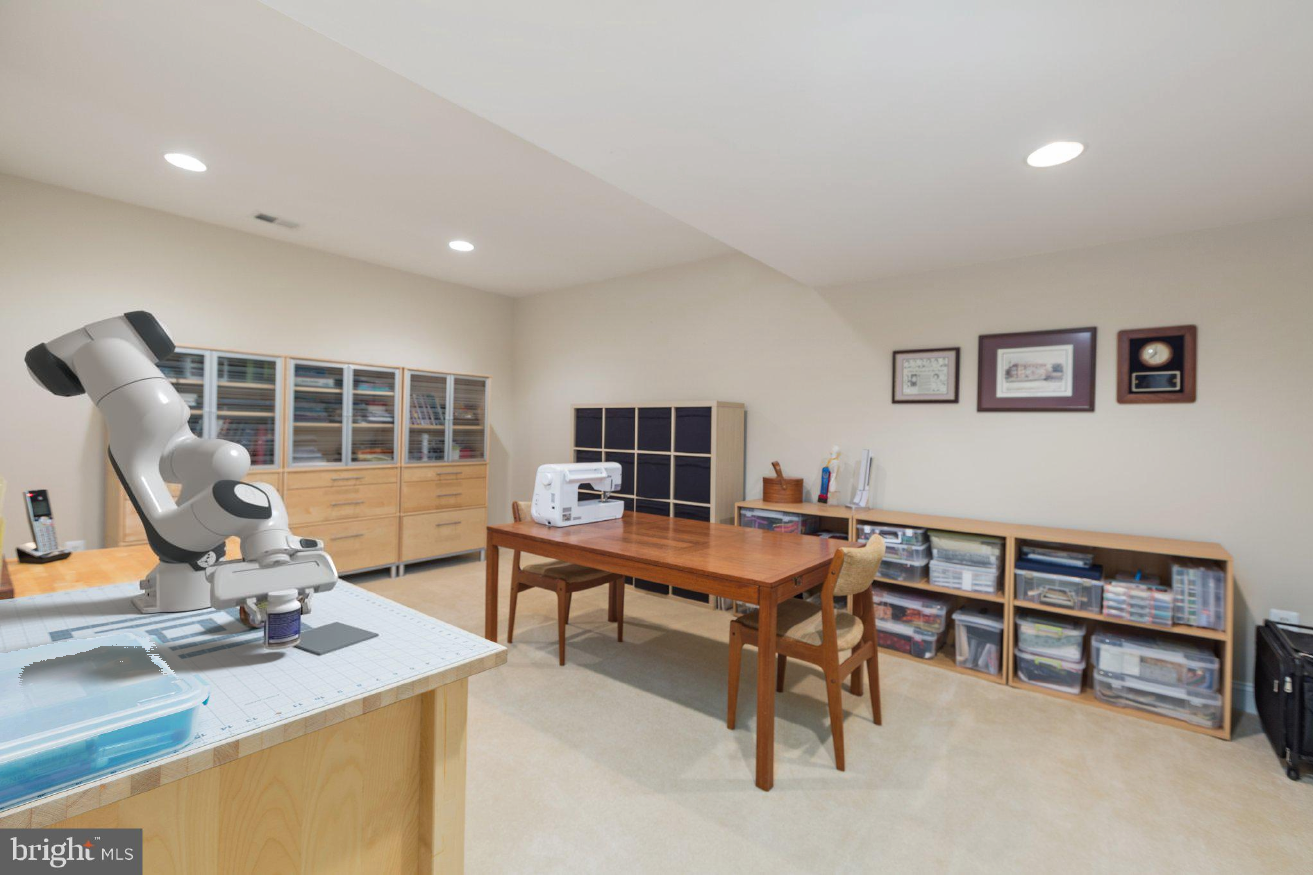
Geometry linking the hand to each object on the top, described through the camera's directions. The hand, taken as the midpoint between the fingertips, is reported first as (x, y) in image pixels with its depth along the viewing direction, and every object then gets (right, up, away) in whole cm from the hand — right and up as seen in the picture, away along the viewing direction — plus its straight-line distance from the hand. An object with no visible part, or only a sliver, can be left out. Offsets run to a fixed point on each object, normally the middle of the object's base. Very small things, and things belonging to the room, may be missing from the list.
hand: (284, 617), depth 105 cm
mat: (+3, -7, +10) cm, 13 cm away
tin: (-15, -7, +19) cm, 26 cm away
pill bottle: (-1, -6, +1) cm, 6 cm away
